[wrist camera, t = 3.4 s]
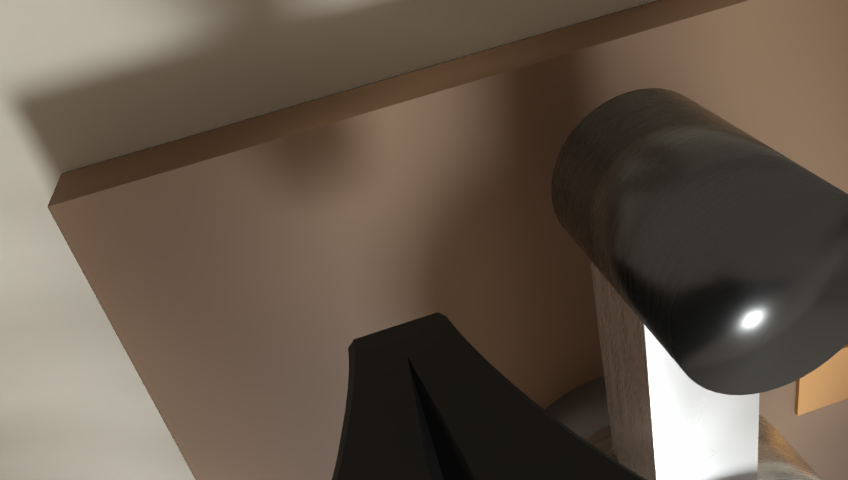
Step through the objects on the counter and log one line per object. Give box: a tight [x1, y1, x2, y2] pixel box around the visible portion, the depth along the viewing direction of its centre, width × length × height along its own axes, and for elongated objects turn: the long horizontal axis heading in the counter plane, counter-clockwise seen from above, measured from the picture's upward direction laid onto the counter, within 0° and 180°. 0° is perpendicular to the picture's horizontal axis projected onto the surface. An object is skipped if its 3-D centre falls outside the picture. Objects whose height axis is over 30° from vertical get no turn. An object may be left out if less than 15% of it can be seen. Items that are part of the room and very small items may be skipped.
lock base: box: [48, 0, 848, 480], centre depth 17 cm, size 18×18×3 cm
